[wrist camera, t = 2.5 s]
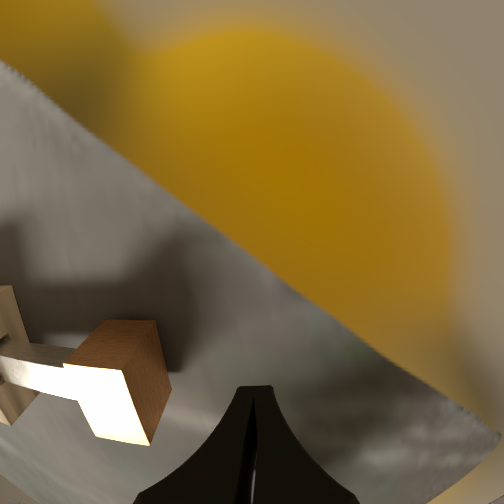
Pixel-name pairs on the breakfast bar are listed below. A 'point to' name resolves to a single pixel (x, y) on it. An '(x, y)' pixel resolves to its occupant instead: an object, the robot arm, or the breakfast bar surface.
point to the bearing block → (11, 327)
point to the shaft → (100, 376)
